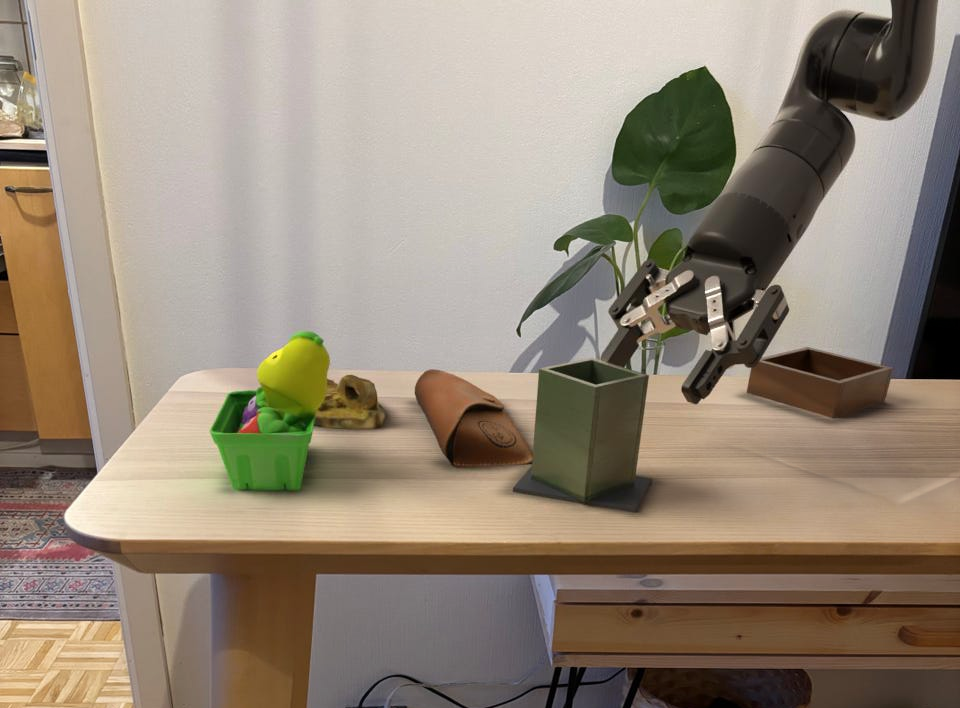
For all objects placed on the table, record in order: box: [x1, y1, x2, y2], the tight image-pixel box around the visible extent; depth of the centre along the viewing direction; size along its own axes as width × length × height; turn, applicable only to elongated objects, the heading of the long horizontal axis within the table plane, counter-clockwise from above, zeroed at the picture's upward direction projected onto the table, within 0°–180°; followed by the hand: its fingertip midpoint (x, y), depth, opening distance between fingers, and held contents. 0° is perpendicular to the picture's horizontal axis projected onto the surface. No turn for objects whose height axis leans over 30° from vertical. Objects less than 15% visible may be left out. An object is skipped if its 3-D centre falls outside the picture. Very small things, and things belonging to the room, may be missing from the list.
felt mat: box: [512, 465, 653, 514], centre depth 78 cm, size 10×7×1 cm
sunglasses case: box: [414, 368, 533, 468], centre depth 88 cm, size 18×7×7 cm
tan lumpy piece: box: [314, 374, 386, 430], centre depth 92 cm, size 9×5×15 cm
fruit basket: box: [209, 330, 331, 491], centre depth 76 cm, size 11×9×11 cm
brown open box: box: [746, 346, 895, 419], centre depth 101 cm, size 10×10×4 cm
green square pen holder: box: [531, 357, 650, 502], centre depth 76 cm, size 6×6×9 cm
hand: (646, 384), depth 77 cm, fingers open, 8 cm apart
